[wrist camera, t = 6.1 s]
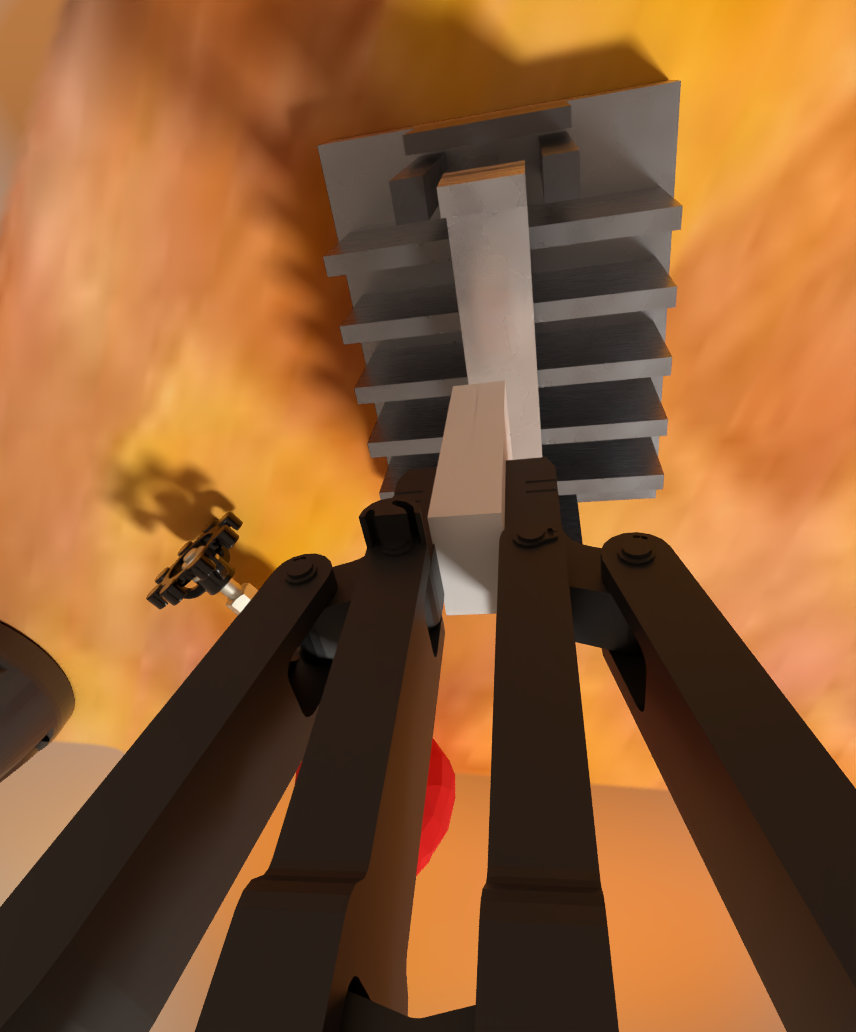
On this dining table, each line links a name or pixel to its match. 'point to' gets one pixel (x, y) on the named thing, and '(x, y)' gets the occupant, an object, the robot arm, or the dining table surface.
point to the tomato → (434, 804)
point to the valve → (204, 569)
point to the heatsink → (555, 280)
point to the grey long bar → (496, 288)
